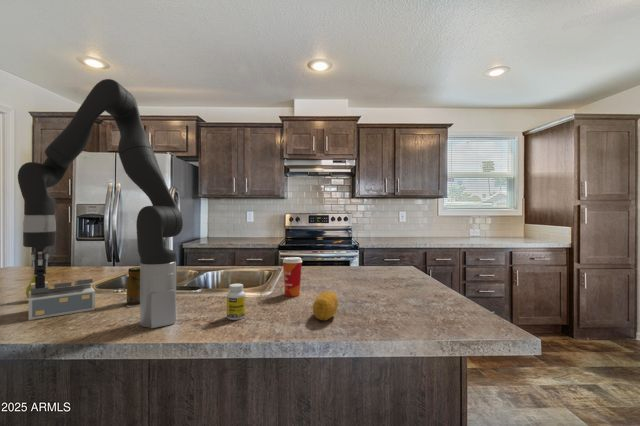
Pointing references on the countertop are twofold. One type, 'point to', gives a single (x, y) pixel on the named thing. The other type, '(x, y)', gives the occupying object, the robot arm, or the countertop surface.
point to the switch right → (83, 282)
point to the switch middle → (61, 284)
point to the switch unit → (61, 301)
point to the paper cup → (292, 275)
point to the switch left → (34, 290)
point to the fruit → (30, 287)
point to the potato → (325, 305)
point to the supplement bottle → (236, 302)
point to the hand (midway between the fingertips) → (40, 288)
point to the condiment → (133, 287)
